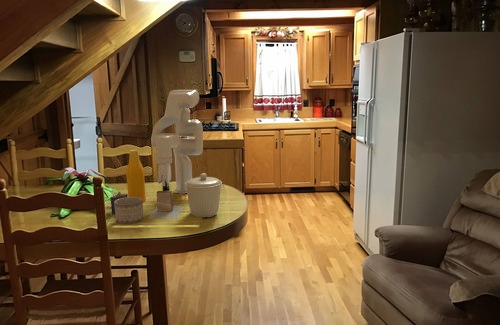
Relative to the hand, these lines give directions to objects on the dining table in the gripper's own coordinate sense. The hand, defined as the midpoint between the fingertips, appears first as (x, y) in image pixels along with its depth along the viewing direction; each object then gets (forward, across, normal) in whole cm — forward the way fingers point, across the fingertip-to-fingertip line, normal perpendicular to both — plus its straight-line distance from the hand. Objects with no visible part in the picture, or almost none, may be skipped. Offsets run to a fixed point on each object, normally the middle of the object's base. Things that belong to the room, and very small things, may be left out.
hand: (166, 195), depth 206 cm
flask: (+8, +3, -23) cm, 25 cm away
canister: (+8, +8, +20) cm, 23 cm away
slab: (+7, +4, 0) cm, 8 cm away
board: (+8, +6, +1) cm, 10 cm away
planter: (+8, +17, -14) cm, 24 cm away
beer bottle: (+8, -13, -19) cm, 24 cm away
